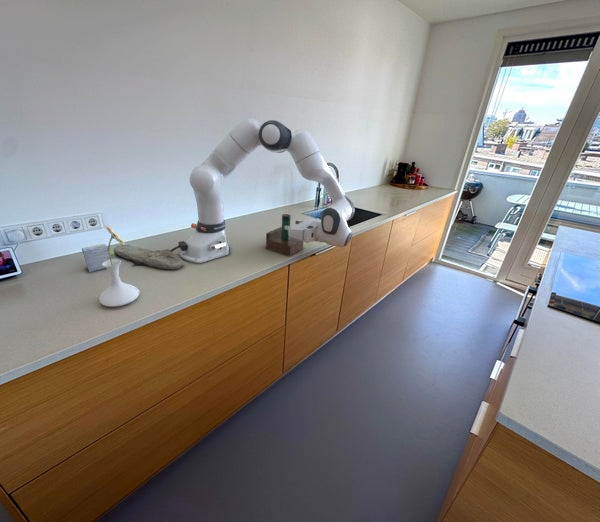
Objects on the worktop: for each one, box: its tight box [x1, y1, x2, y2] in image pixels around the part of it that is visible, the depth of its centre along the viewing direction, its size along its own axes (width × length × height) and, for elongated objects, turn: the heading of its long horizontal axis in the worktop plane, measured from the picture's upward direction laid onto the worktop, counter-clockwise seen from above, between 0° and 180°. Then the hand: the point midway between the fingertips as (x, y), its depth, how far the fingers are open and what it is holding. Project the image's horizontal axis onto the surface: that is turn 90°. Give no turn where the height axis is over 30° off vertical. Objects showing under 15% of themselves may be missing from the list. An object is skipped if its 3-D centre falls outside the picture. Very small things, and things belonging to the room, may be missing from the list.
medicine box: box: [81, 243, 110, 273], centre depth 111 cm, size 8×4×9 cm, turn 134°
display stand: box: [265, 226, 304, 257], centre depth 140 cm, size 12×14×8 cm
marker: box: [281, 213, 292, 241], centre depth 137 cm, size 4×4×12 cm
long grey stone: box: [113, 244, 184, 270], centre depth 120 cm, size 35×5×10 cm
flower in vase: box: [98, 224, 140, 308], centre depth 90 cm, size 13×11×25 cm
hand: (290, 224), depth 135 cm, fingers open, 8 cm apart
